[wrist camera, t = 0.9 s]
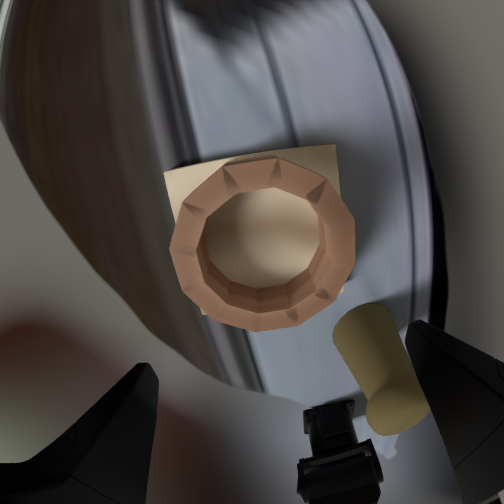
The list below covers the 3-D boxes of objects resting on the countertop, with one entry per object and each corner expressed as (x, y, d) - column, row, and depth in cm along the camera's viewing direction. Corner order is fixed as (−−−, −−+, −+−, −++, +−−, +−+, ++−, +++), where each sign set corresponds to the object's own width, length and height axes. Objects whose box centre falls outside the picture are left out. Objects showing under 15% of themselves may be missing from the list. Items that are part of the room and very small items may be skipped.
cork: (347, 299, 22) (400, 402, 12) (400, 306, 22) (459, 391, 12) (322, 350, 24) (352, 450, 14) (373, 353, 25) (412, 438, 15)
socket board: (338, 285, 21) (355, 316, 17) (204, 306, 22) (197, 340, 18) (330, 143, 17) (352, 146, 13) (168, 170, 17) (147, 179, 13)
